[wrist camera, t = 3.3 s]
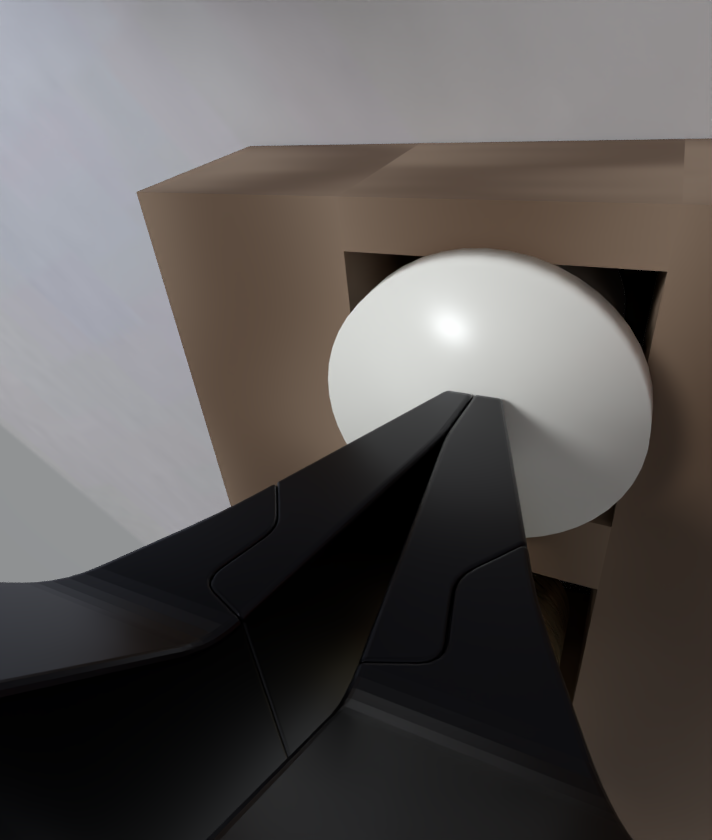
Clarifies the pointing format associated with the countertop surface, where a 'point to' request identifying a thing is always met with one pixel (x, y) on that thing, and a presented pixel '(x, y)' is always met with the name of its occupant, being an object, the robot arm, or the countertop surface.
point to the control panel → (504, 230)
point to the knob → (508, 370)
